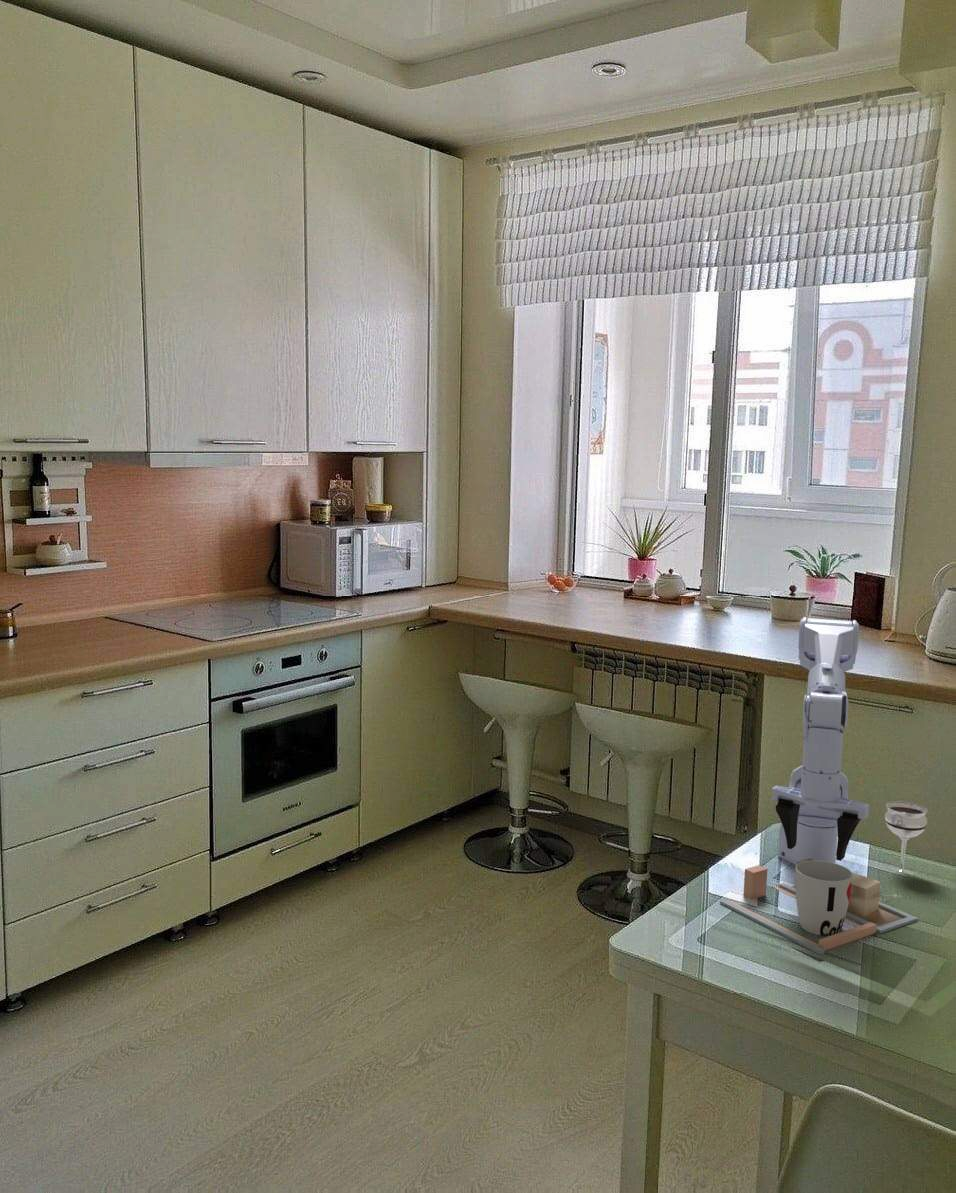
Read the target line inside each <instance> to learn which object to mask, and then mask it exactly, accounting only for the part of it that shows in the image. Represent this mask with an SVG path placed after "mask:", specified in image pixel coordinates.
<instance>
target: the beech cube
mask: <svg viewBox="0 0 956 1193" xmlns="http://www.w3.org/2000/svg"><path fill="white" fill-rule="evenodd" d="M852 874H853V877H852V884H851V892H850V899H849V904H848V908H847V911H849V912H852V913H855V914H857V915H860V916H863V917H865V916H867V915H868V914H870V913H872V912H874V911H876V910H877V909H878V908H879V907H878V906H879V901H880V891H881V881H880V880H877V879H874V878H871V877H869V876H868V877H867V876H864V875H861V874H859V873H855V872H852Z"/></svg>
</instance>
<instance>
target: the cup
mask: <svg viewBox="0 0 956 1193" xmlns="http://www.w3.org/2000/svg"><path fill="white" fill-rule="evenodd" d="M852 873H853V872H852V870H850V869H849V868H848V867H845V866H843V865H841V864H838V863H831V862H825V861H804V862H800V863H798V864H797V865H795V885H796V894H795V895H796V898H795V901H796V910H797V917H798V920H799V926H800V927H801V929H803V930H805V931H806V932H808V933H811V934H812V935H813V934H814V935H818V936H825V937H828V936H831V935H834V934H837V933H840V932H842V931H841V930H842V928H843V926H844V924H845V921H844V920H845V918H846V917H845V916H846V912H847V908H848V904H849V899H850V892H851V884H852V877H853V874H852Z"/></svg>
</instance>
